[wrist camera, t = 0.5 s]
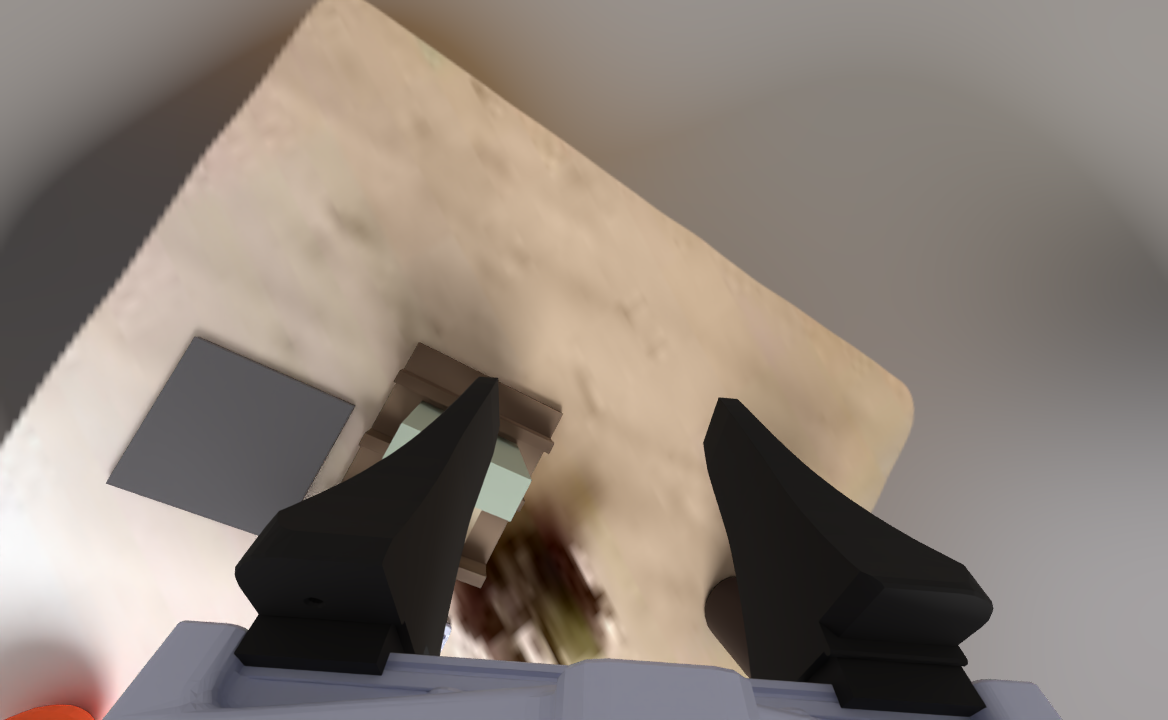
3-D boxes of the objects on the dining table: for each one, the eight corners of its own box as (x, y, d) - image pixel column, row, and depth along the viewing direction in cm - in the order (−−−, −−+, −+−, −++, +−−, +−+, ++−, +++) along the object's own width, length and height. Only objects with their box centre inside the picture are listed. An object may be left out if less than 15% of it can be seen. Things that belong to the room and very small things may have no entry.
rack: (480, 571, 37) (480, 588, 35) (324, 514, 34) (312, 528, 31) (561, 413, 39) (567, 417, 36) (419, 342, 35) (415, 342, 33)
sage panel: (501, 474, 37) (510, 521, 27) (404, 432, 35) (377, 467, 25) (517, 444, 37) (531, 480, 27) (422, 400, 35) (401, 422, 25)
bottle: (709, 572, 43) (897, 758, 24) (763, 575, 45) (979, 750, 26) (697, 636, 43) (876, 873, 24) (752, 636, 45) (960, 857, 26)
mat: (280, 539, 33) (277, 542, 33) (111, 481, 30) (105, 483, 30) (355, 405, 34) (353, 406, 34) (199, 336, 31) (194, 336, 31)
